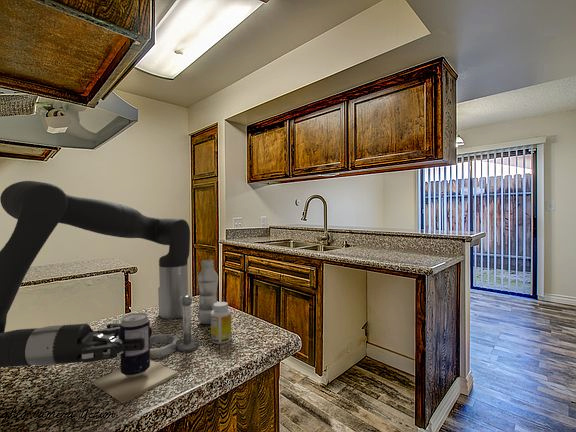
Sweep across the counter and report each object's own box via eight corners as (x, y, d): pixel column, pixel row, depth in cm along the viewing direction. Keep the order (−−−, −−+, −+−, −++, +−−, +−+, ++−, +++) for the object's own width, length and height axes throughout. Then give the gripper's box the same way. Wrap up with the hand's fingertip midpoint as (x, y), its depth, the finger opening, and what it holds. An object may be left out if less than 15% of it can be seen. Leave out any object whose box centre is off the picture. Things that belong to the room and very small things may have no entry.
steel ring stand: (129, 351, 80) (128, 299, 79) (173, 334, 91) (172, 288, 90) (160, 366, 73) (158, 308, 72) (203, 345, 83) (203, 294, 83)
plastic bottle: (209, 317, 104) (208, 258, 103) (223, 322, 100) (222, 260, 99) (193, 323, 99) (192, 261, 98) (207, 328, 95) (206, 263, 94)
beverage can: (155, 365, 69) (154, 312, 69) (140, 379, 64) (139, 322, 64) (131, 364, 70) (130, 311, 70) (114, 378, 64) (113, 321, 64)
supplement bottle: (233, 336, 89) (232, 300, 89) (229, 344, 84) (228, 307, 83) (213, 336, 89) (213, 300, 89) (208, 344, 84) (208, 307, 83)
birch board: (92, 383, 65) (92, 381, 65) (146, 360, 75) (146, 357, 75) (123, 403, 59) (123, 400, 59) (177, 374, 69) (177, 372, 69)
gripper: (39, 341, 57) (138, 333, 60) (76, 314, 71) (155, 309, 74) (40, 381, 57) (139, 371, 60) (77, 346, 71) (155, 340, 74)
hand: (147, 337), depth 67 cm, fingers closed on beverage can, 5 cm apart
